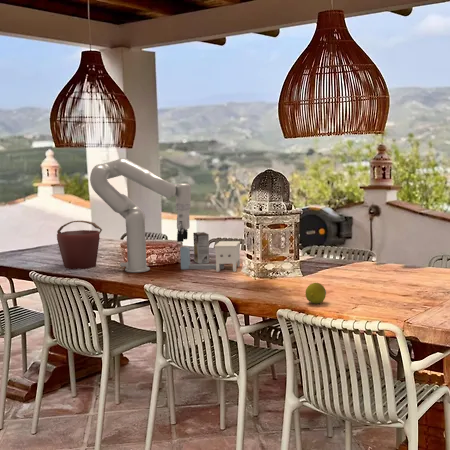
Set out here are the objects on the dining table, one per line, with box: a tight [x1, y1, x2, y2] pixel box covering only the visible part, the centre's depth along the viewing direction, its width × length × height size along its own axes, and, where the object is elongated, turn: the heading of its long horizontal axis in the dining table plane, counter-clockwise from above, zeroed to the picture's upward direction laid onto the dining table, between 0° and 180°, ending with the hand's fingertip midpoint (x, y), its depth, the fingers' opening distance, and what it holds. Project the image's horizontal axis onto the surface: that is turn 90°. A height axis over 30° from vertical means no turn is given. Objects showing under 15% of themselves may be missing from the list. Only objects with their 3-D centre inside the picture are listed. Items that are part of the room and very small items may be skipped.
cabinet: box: [214, 240, 241, 272], centre depth 331 cm, size 11×18×13 cm, turn 171°
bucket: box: [56, 220, 103, 270], centre depth 348 cm, size 24×22×25 cm
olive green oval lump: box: [305, 282, 327, 305], centre depth 251 cm, size 11×8×8 cm
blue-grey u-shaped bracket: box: [180, 246, 225, 270], centre depth 334 cm, size 22×4×11 cm, turn 81°
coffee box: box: [192, 231, 210, 264], centre depth 353 cm, size 9×6×16 cm
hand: (182, 240), depth 334 cm, fingers open, 9 cm apart
